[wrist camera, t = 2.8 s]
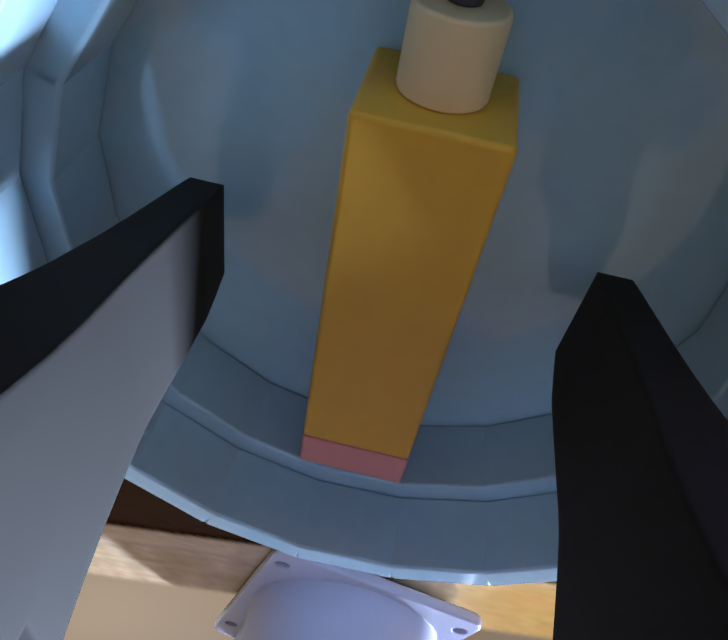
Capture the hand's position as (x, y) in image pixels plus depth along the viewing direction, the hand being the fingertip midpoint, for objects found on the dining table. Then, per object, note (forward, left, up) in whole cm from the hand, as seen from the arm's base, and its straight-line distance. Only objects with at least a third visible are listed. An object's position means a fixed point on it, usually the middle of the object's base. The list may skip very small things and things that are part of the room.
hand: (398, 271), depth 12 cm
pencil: (0, 0, -1) cm, 1 cm away
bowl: (0, 0, -1) cm, 1 cm away
